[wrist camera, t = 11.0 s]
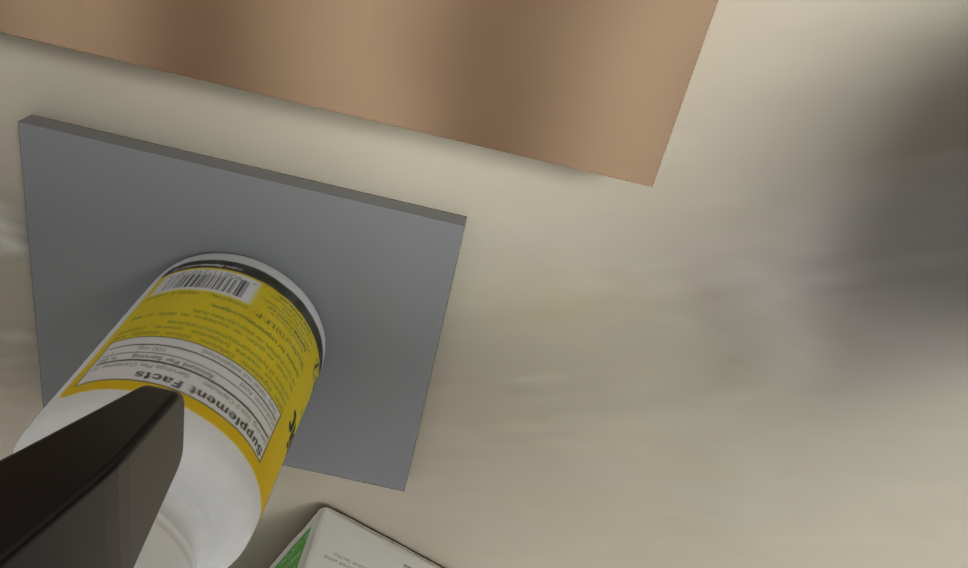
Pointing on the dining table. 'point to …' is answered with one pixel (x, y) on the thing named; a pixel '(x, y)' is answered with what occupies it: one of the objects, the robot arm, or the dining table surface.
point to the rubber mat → (258, 235)
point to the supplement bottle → (208, 395)
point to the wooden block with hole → (424, 63)
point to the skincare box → (345, 546)
